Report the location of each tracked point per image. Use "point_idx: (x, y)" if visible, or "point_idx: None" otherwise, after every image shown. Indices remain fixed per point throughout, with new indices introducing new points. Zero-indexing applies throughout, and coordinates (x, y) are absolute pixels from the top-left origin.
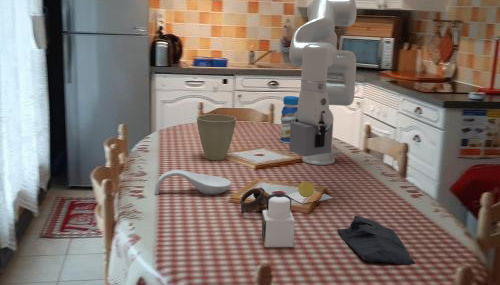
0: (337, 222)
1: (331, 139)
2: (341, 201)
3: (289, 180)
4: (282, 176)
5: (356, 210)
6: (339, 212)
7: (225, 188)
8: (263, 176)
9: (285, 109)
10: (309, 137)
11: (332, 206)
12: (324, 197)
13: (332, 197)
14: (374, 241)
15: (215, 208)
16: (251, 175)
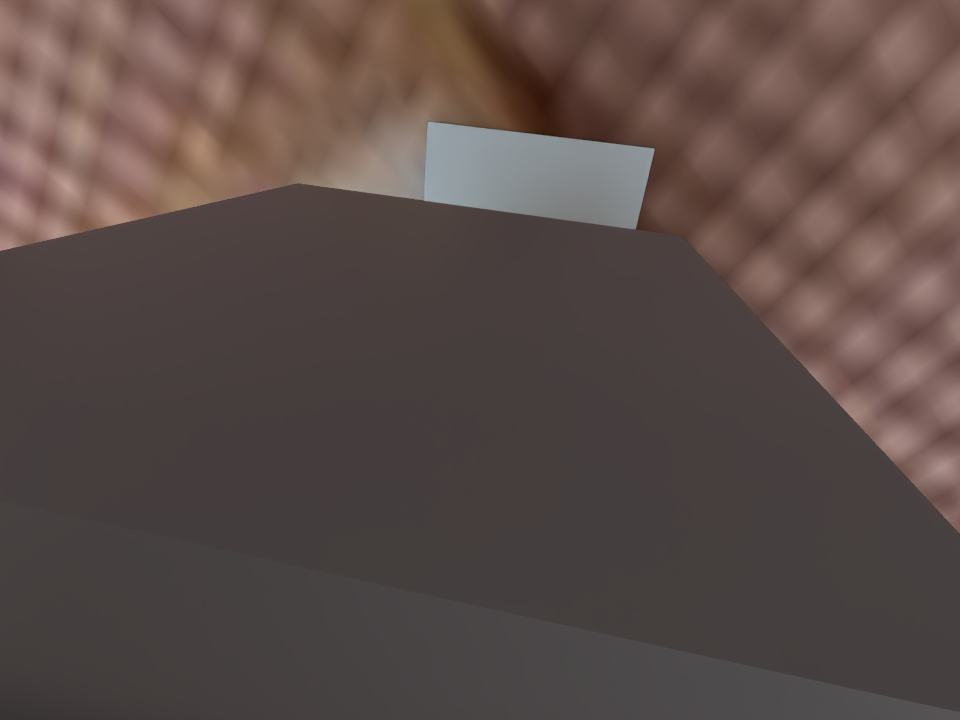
0: (916, 458)
1: (745, 308)
2: (740, 152)
3: (192, 105)
4: (95, 77)
5: (930, 217)
6: (845, 334)
7: None
8: (68, 194)
9: None
10: None
11: (748, 284)
12: (611, 202)
13: (649, 151)
14: None
15: None
16: (35, 241)
